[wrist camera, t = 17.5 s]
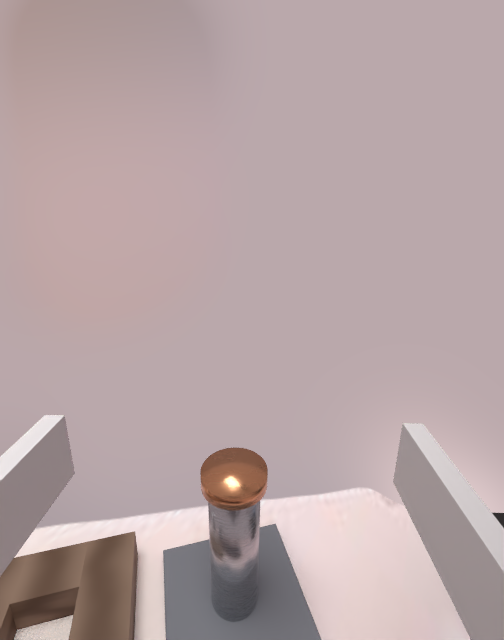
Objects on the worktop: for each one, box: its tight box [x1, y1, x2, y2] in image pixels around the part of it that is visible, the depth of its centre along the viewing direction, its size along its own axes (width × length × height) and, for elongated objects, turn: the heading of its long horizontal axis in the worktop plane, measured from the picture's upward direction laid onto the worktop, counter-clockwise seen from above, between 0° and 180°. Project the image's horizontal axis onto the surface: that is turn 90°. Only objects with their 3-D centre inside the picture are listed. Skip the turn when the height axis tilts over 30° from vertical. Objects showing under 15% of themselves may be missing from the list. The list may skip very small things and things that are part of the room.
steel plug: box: [201, 448, 267, 622], centre depth 33 cm, size 6×6×16 cm
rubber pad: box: [163, 524, 321, 640], centre depth 36 cm, size 14×14×1 cm
